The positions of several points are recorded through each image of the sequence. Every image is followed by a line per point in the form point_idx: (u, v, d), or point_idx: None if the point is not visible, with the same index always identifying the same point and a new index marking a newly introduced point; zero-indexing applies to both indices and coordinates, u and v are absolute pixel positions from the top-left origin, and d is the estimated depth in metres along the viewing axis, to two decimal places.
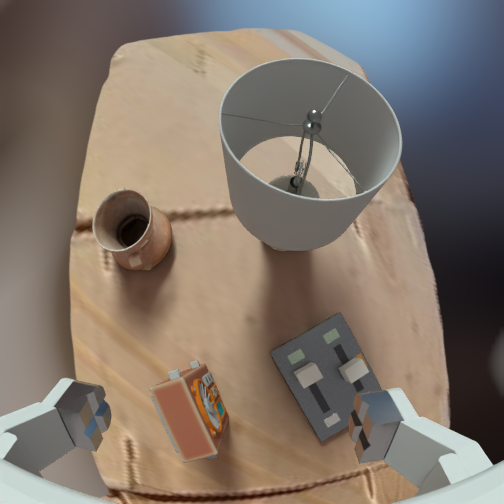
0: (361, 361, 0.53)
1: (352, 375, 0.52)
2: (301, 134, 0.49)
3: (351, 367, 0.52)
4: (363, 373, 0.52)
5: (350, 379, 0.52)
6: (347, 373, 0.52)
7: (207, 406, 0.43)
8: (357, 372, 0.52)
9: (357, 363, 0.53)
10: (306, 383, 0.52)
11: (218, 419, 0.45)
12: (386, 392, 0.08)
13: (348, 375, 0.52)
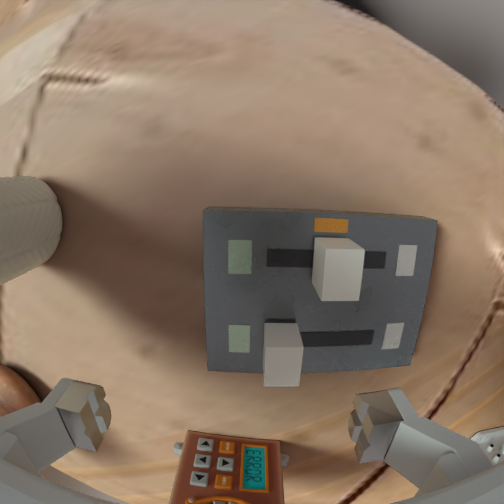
0: (330, 253, 0.22)
1: (344, 289, 0.23)
2: None
3: (326, 283, 0.22)
4: (358, 264, 0.22)
5: (349, 298, 0.23)
6: (332, 297, 0.23)
7: None
8: (346, 276, 0.22)
9: (328, 266, 0.22)
10: (292, 379, 0.24)
11: None
12: (386, 391, 0.08)
13: (338, 297, 0.23)
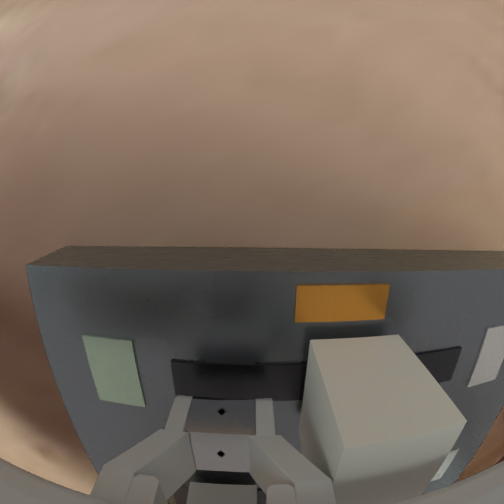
0: (358, 457, 0.05)
1: None
2: None
3: None
4: (437, 456, 0.05)
5: None
6: None
7: None
8: (394, 486, 0.05)
9: (344, 481, 0.05)
10: None
11: None
12: (253, 400, 0.08)
13: None
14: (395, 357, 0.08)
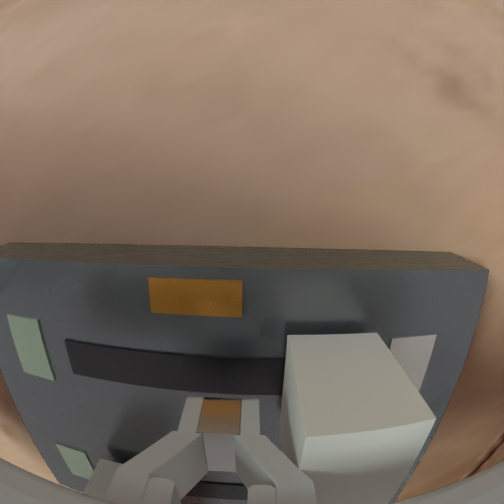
0: (320, 447, 0.05)
1: (352, 501, 0.06)
2: None
3: None
4: (407, 453, 0.05)
5: None
6: None
7: None
8: (364, 481, 0.06)
9: (310, 472, 0.06)
10: None
11: None
12: (239, 400, 0.08)
13: None
14: (370, 354, 0.08)
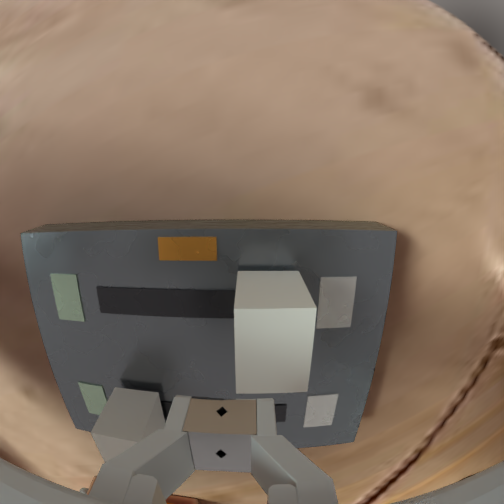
0: (243, 317, 0.11)
1: (278, 377, 0.12)
2: None
3: (241, 367, 0.12)
4: (304, 334, 0.11)
5: (288, 388, 0.12)
6: (256, 389, 0.12)
7: None
8: (280, 356, 0.12)
9: (241, 339, 0.11)
10: None
11: None
12: (254, 400, 0.08)
13: (267, 388, 0.12)
14: (287, 279, 0.14)
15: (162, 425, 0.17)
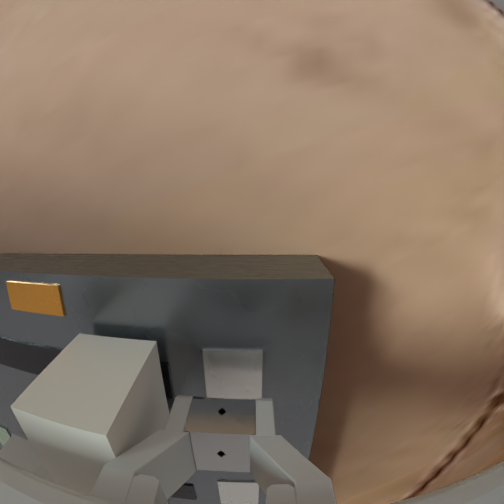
0: (24, 420, 0.05)
1: None
2: None
3: (51, 470, 0.06)
4: (105, 461, 0.05)
5: None
6: None
7: None
8: (87, 474, 0.06)
9: (35, 443, 0.06)
10: None
11: None
12: (253, 400, 0.08)
13: None
14: (123, 360, 0.08)
15: None
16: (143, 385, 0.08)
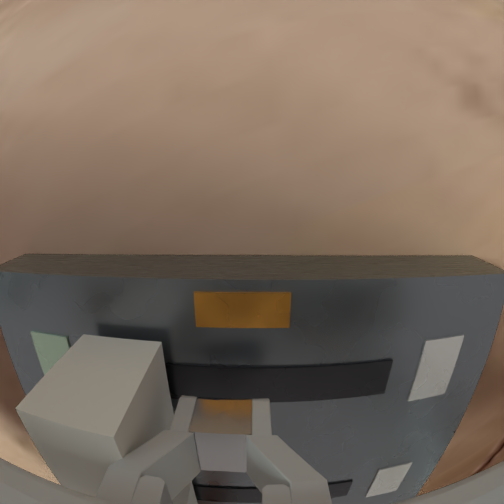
0: (29, 422, 0.05)
1: None
2: None
3: (56, 472, 0.06)
4: (111, 463, 0.06)
5: None
6: None
7: None
8: (93, 476, 0.06)
9: (40, 445, 0.06)
10: None
11: None
12: (249, 400, 0.08)
13: None
14: (128, 361, 0.08)
15: None
16: (149, 386, 0.08)
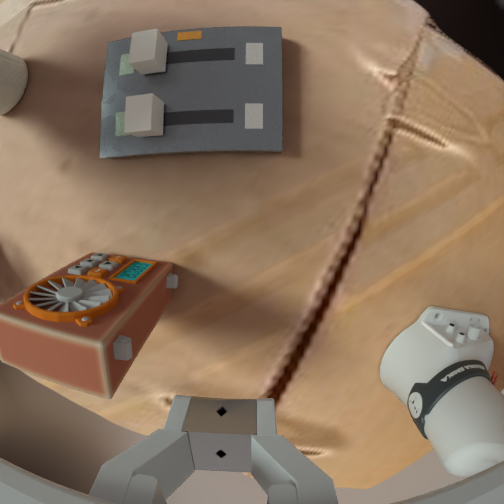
0: (134, 34, 0.26)
1: (143, 53, 0.26)
2: None
3: (131, 51, 0.26)
4: (153, 37, 0.26)
5: (147, 58, 0.27)
6: (135, 60, 0.27)
7: (60, 298, 0.23)
8: (145, 45, 0.26)
9: (133, 42, 0.26)
10: (145, 122, 0.28)
11: (108, 290, 0.27)
12: (254, 400, 0.08)
13: (139, 59, 0.27)
14: None
15: (161, 121, 0.32)
16: (163, 41, 0.28)
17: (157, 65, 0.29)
